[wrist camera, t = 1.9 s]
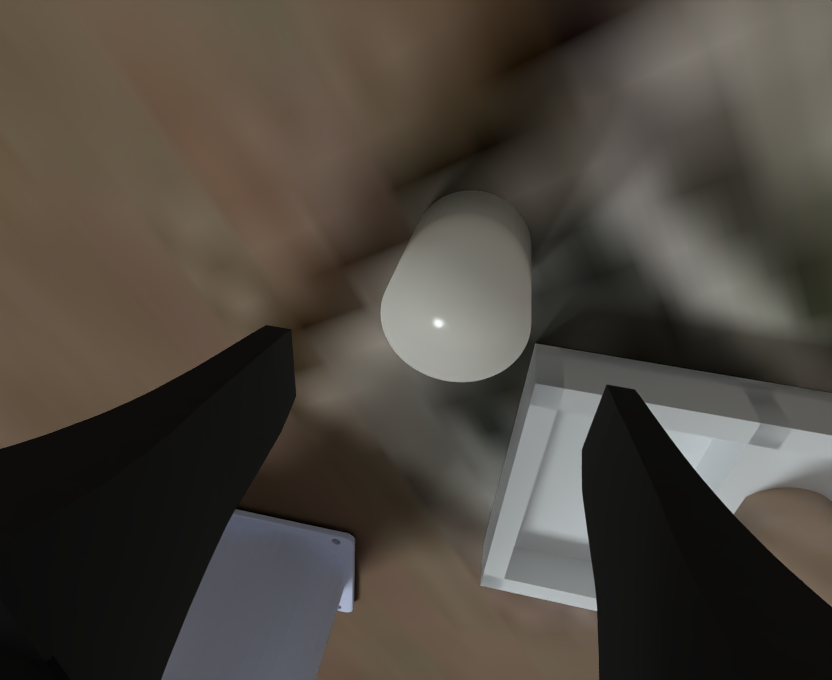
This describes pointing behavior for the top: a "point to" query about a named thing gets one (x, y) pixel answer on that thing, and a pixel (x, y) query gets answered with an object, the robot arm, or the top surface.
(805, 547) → the brown egg
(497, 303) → the cream egg
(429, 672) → the top surface
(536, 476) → the holder
